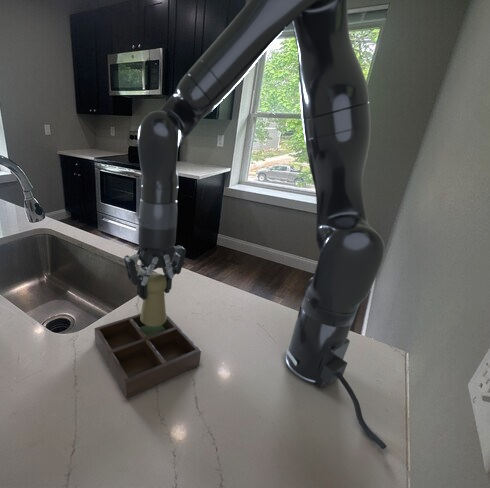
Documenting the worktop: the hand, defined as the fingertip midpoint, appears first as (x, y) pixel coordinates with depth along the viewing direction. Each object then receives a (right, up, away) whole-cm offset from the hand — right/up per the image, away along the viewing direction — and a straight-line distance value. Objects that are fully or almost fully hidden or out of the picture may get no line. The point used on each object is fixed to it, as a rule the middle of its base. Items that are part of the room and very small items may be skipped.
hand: (154, 294), depth 65 cm
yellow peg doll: (0, -6, +3) cm, 7 cm away
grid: (-2, -13, 0) cm, 13 cm away
